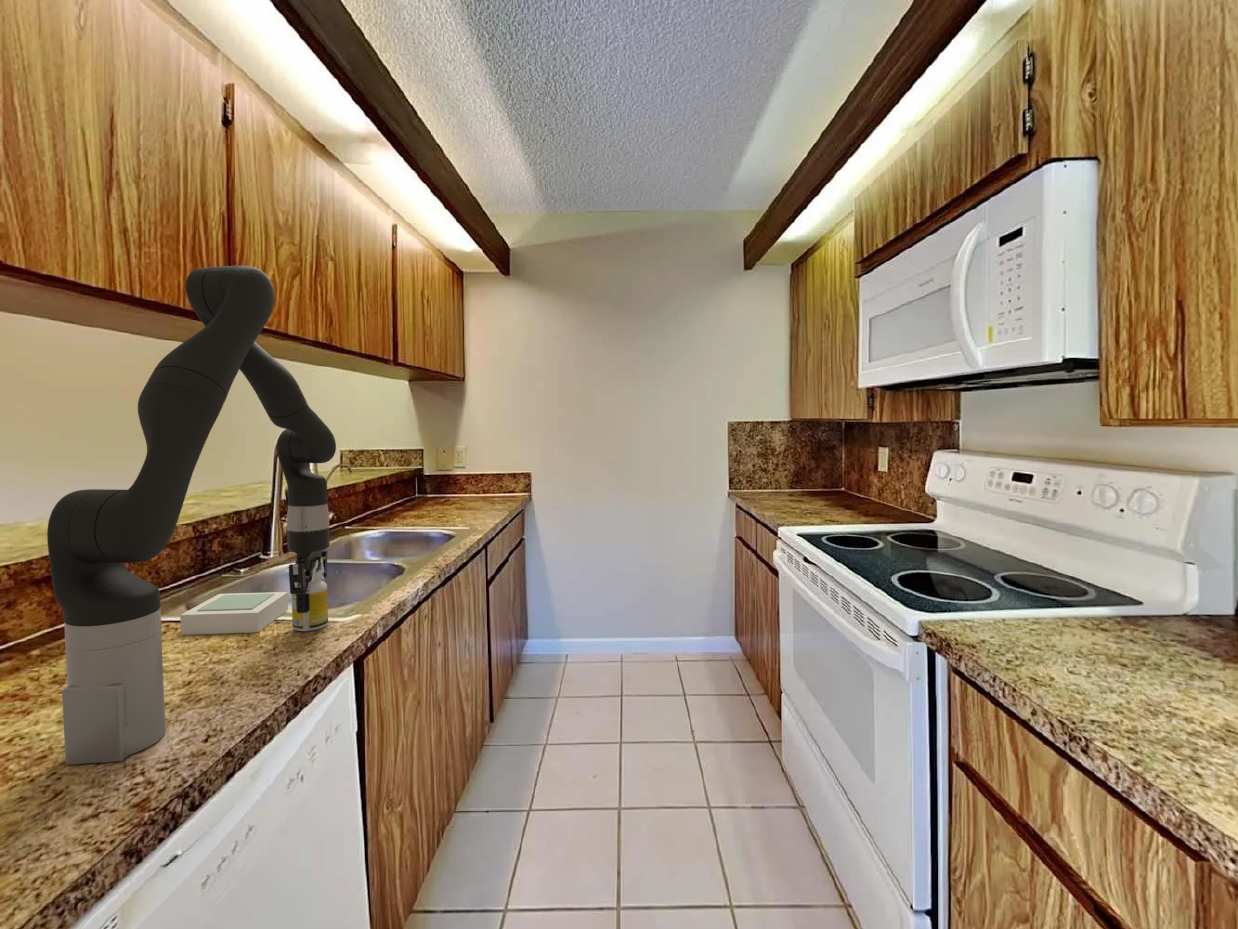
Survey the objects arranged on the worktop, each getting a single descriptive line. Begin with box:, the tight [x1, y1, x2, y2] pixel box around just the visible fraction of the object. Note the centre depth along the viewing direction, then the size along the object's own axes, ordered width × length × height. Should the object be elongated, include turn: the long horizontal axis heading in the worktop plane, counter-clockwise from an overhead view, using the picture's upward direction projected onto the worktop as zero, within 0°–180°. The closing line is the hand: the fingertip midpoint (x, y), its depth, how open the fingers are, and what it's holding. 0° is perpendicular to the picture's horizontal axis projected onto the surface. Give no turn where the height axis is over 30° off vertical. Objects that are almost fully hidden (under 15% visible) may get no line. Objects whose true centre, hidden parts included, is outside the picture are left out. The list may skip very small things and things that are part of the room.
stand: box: [179, 591, 289, 636], centre depth 118 cm, size 14×14×4 cm
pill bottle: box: [291, 569, 329, 632], centre depth 116 cm, size 6×6×12 cm
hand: (310, 606), depth 116 cm, fingers closed on pill bottle, 6 cm apart
